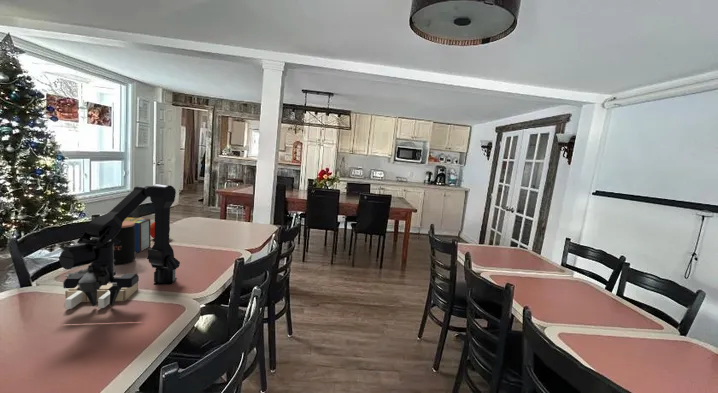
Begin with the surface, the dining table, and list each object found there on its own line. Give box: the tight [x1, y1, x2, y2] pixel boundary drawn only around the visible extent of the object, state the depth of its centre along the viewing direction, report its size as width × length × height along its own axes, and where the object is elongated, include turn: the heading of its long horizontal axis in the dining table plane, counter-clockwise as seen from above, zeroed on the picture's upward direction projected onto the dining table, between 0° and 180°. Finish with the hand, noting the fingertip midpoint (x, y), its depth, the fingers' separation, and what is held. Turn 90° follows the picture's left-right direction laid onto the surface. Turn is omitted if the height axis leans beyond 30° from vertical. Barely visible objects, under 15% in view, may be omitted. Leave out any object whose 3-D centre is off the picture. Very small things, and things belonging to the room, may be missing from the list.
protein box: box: [124, 217, 152, 253], centre depth 162 cm, size 10×15×16 cm
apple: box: [150, 221, 171, 239], centre depth 184 cm, size 10×10×12 cm
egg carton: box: [64, 267, 88, 279], centre depth 124 cm, size 11×8×4 cm
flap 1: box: [64, 290, 87, 310], centre depth 103 cm, size 6×7×4 cm
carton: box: [67, 281, 139, 303], centre depth 112 cm, size 17×10×4 cm, turn 103°
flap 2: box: [97, 290, 127, 309], centre depth 105 cm, size 6×7×4 cm
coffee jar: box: [113, 221, 136, 266], centre depth 144 cm, size 11×11×18 cm
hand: (103, 305), depth 103 cm, fingers open, 5 cm apart
